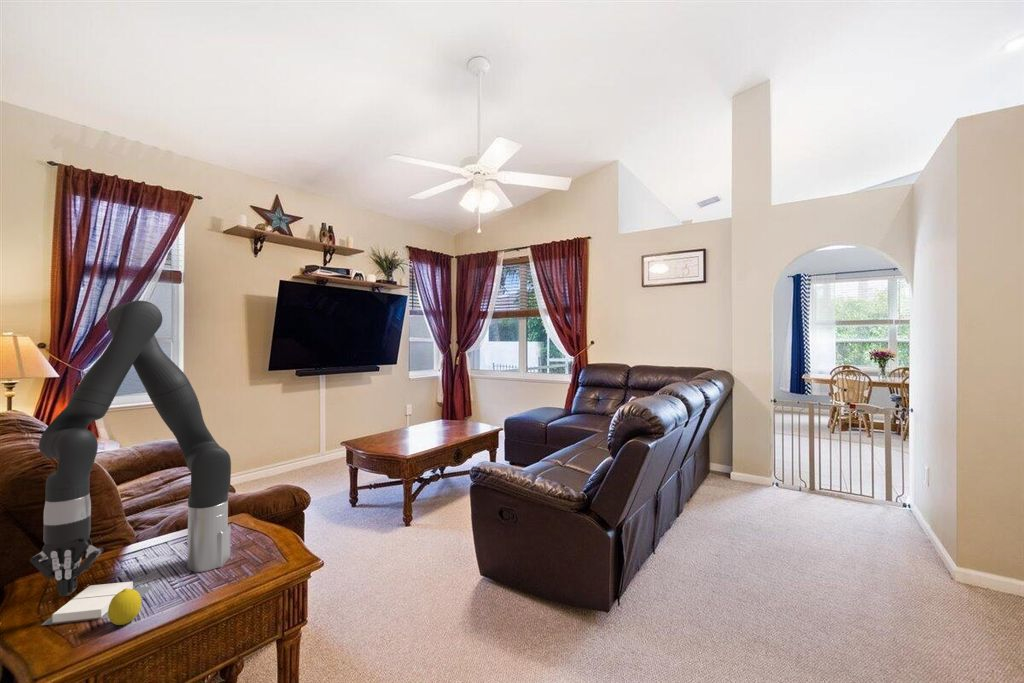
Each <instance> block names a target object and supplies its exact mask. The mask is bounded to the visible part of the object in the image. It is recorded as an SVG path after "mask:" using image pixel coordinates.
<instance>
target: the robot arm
mask: <svg viewBox="0 0 1024 683" xmlns="http://www.w3.org/2000/svg"><path fill="white" fill-rule="evenodd" d="M162 323H163V315H162V312H161V310H160V309H159V308H158V306H157V305H156V304H154V303H152V302H149V301H148V300H147V301H146V300H132V301H128V302H125V303H122V304H118V305H116V306H114V307H113V308H111V309H110V310H109V311H108V313H107V315H106V325H107V328H108V330H109V332H110V334H111V335H112V339H110V340H111V341H110V342H109V344H108V345H107V347H106V348H105V350H104V351H103V353H102V354H101V355H100V357H99V358H98V359H97V360H96V361H95V363H94V364H93V365H91V367H90V369H89V370H88V371H87V372H86V374H85V375H84V376H83V378H82V379H81V381H80V382H79V384H78V386H77V387H76V389H75V391H74V393H73V394H72V396H71V398H70V400H69V401H68V403H67V406H65V407H64V408H63V409H62V411H61V412H60V413H59V414H57V416H56V417H55V418H54V419H53V420H52V421H51V423H49V425H48V426H47V428H46V429H45V430H44V431H43V433H42V434H41V437H40V439H39V442H38V449H39V450H38V451H39V452H40V453H41V455H42V456H44V457H45V458H49V459H53V460H58V463H57V468H56V471H54V472H52V473H50V474H49V475H48V476H47V477H46V479H45V495H44V496H45V497H44V498H45V502H44V506H43V507H44V508H43V518H42V519H43V529H42V530H43V531H42V532H43V543H44V545H43V546H42V548H41V549H42V550H41V551H40V552H39V553H37V554H36V555H33V556H32V557H30V558H29V562H30V563H31V564H32V565H33V566H34V567H35V568H36V569H37V570H38V571H39V572H40V573H41V574H42V575H43V576H44V577H45V578H46V579H51V578H52V579H55V580H56V581H57V585H56V588H57V594H59V597H65V596H66V597H67V596H70V595H71V594H72V593H74V592H75V591H76V590H77V587H78V577H79V576H80V575H81V574H84V572H86V571H87V570H88V569H89V568H90V567H91V566H92V565H93V564H94V563H95V561H96V560H97V559H98V558H99V557H100V556H101V554H102V553H103V552H104V548H103V547H100V546H99V547H98V548H97V547H96V546H94V545H93V542H92V539H91V538H90V534H91V532H92V522H91V521H92V501H91V495H90V487H91V486H90V485H91V484H90V482H91V481H90V475H91V472H92V470H93V466H94V464H95V460H96V457H97V454H98V448H99V446H98V445H99V444H98V439H97V436H96V435H95V433H94V432H92V431H91V430H89V429H87V428H88V427H89V426H90V425H91V423H93V422H94V421H97V420H100V419H103V417H104V416H106V414H107V412H108V410H109V408H111V405H112V403H113V401H114V399H115V397H116V395H117V393H118V391H119V389H120V387H121V385H122V384H123V382H124V380H125V378H126V376H127V374H128V373H129V371H130V370H131V368H132V366H133V367H134V370H135V372H136V374H137V376H138V378H139V379H140V382H141V383H142V385H143V387H144V389H145V391H146V393H147V396H148V397H149V399H150V401H151V403H152V405H153V406H154V408H155V410H156V411H157V413H158V415H159V417H160V418H161V419H162V421H163V422H164V423H165V425H166V426H167V427H168V429H169V430H170V431H171V433H172V435H173V436H174V438H175V439H176V441H177V443H178V445H179V448H180V451H181V452H182V455H183V458H184V461H185V464H186V468H187V469H188V471H189V472H190V492H189V494H188V498H187V559H186V560H187V561H186V562H187V569H188V570H190V571H191V572H193V573H200V572H207V571H211V570H214V569H217V568H218V569H219V568H222V567H223V566H224V565H225V564H226V563H227V561H229V559H230V558H231V524H230V523H228V522H229V521H228V520H229V519H228V514H229V511H228V510H229V493H230V490H231V479H232V478H231V476H232V461H231V455H230V454H229V451H227V450H226V449H225V448H224V447H222V446H220V445H219V444H218V442H217V441H216V440H215V438H214V436H212V434H211V432H210V431H209V429H208V427H207V425H206V423H205V419H204V417H203V413H202V408H201V405H200V401H199V398H198V396H197V394H196V392H195V389H194V388H193V386H192V384H191V381H190V380H189V378H188V377H187V375H186V374H185V372H184V371H183V370H182V369H181V368H180V367H179V366H178V365H177V364H176V363H175V362H174V361H173V360H172V359H171V358H169V356H168V355H167V354H166V353H165V352H164V350H163V348H161V345H160V344H159V342H158V340H157V337H156V336H155V334H156V333H157V332H158V330H159V329H160V328H161V327H162ZM84 555H85V558H86V559H85V560H84V561H83V562H82V558H83V556H84Z"/></svg>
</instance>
